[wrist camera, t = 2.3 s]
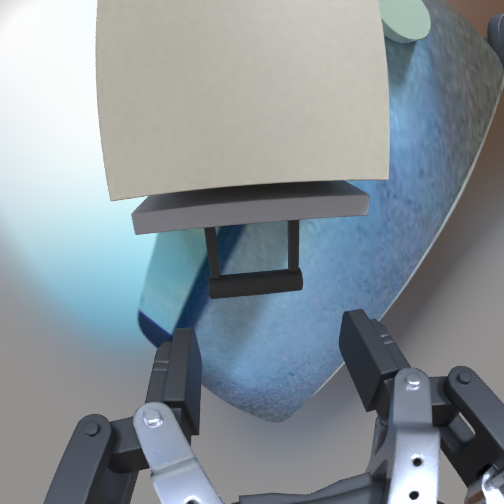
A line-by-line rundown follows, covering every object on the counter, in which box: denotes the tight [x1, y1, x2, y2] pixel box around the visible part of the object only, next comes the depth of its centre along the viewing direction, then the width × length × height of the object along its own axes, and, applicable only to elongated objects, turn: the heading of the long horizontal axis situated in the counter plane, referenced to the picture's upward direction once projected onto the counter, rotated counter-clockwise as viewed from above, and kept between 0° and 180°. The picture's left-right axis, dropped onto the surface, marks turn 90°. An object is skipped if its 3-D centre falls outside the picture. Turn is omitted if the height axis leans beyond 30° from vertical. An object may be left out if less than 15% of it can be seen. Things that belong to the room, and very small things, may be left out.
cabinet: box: [96, 0, 390, 201], centre depth 14 cm, size 16×14×9 cm
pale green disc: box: [378, 0, 431, 43], centre depth 15 cm, size 6×6×2 cm
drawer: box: [132, 180, 369, 299], centre depth 16 cm, size 20×13×7 cm, turn 4°
